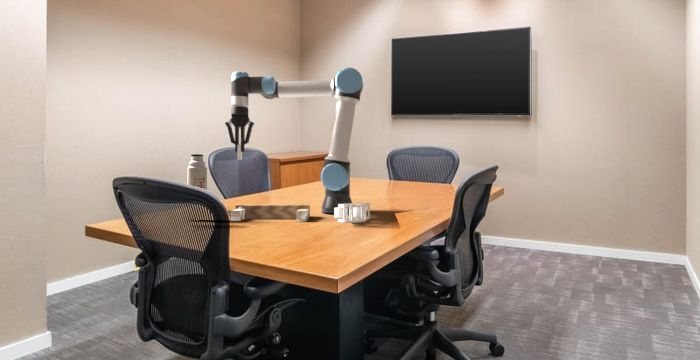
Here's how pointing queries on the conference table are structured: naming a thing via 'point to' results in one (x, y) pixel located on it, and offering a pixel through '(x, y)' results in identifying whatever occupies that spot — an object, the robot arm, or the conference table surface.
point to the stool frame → (276, 212)
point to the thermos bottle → (197, 172)
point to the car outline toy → (352, 212)
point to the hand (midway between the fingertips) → (239, 159)
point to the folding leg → (237, 214)
